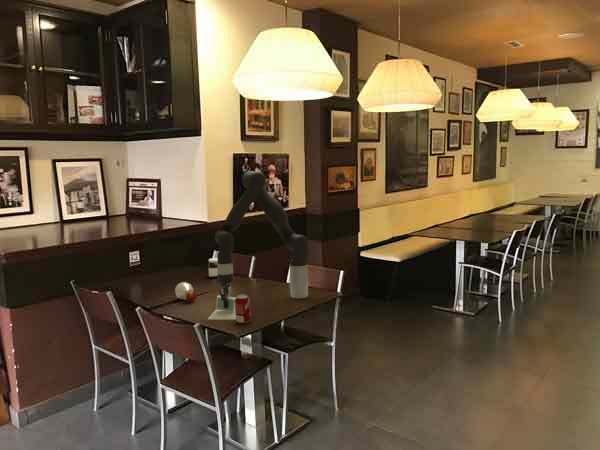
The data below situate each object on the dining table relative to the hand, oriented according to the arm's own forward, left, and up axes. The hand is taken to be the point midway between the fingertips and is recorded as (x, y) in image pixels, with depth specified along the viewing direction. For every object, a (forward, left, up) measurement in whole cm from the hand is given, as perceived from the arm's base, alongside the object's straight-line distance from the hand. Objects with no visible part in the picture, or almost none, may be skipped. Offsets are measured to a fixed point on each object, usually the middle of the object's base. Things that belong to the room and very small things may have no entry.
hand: (227, 306), depth 237 cm
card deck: (0, -1, -2) cm, 2 cm away
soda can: (+13, +11, -3) cm, 17 cm away
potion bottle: (-21, -28, -3) cm, 35 cm away
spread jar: (-71, -26, -3) cm, 76 cm away
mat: (+3, +1, -3) cm, 4 cm away
